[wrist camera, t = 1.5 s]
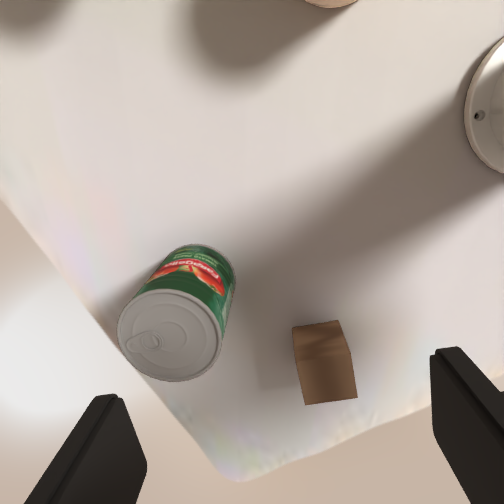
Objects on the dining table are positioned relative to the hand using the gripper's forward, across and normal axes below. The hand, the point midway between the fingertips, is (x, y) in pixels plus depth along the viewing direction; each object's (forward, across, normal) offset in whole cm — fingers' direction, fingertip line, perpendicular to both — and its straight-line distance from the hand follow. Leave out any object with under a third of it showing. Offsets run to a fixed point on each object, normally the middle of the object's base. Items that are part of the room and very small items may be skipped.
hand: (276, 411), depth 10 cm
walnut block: (+25, -3, +15) cm, 29 cm away
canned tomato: (+25, +8, +5) cm, 27 cm away
